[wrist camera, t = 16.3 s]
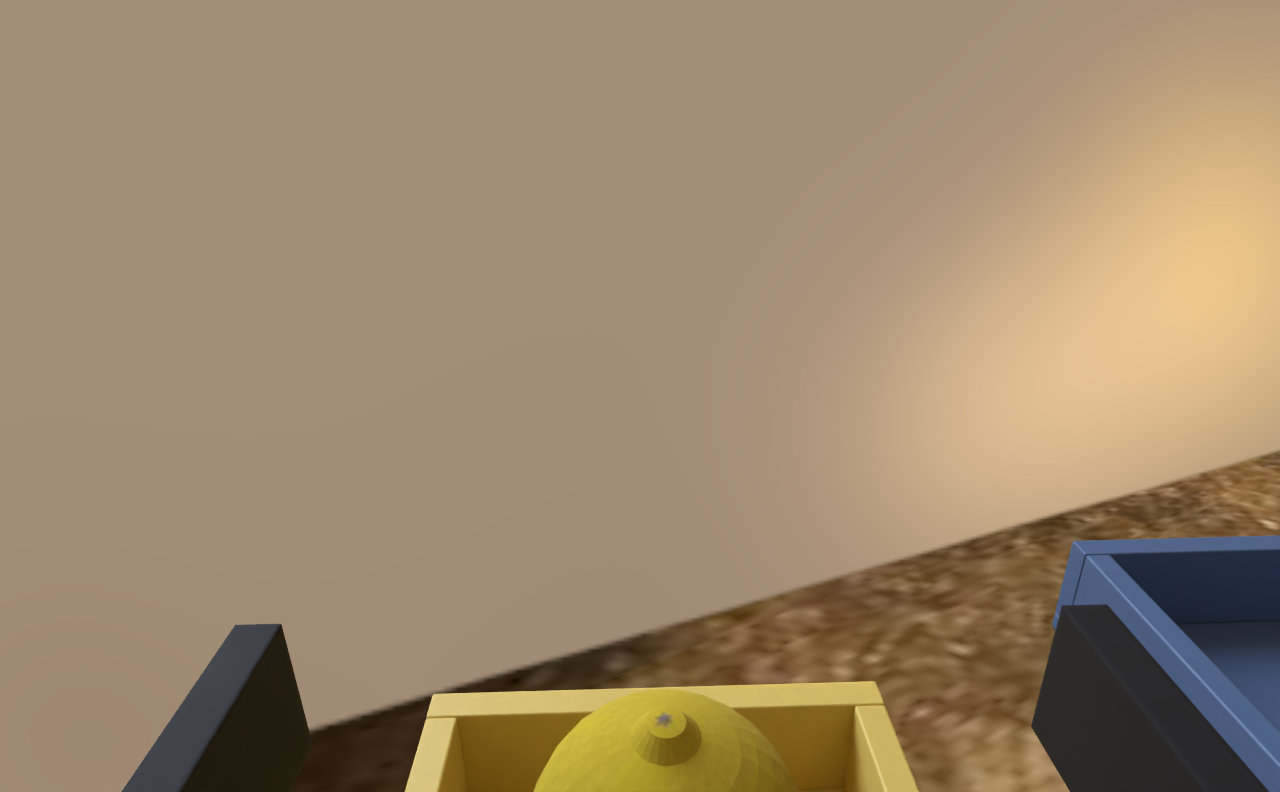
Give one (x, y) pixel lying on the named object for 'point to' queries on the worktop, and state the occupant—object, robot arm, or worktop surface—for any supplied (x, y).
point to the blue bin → (1199, 625)
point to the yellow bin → (784, 713)
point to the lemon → (665, 749)
